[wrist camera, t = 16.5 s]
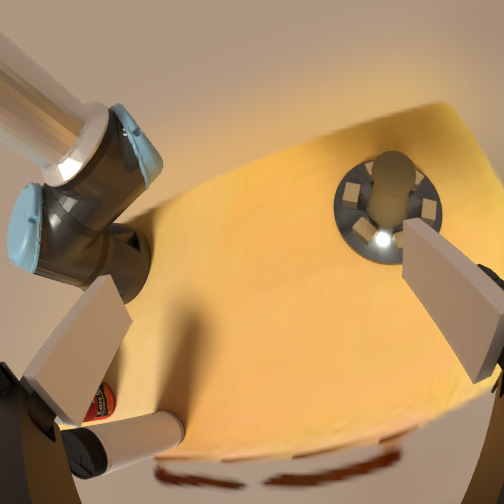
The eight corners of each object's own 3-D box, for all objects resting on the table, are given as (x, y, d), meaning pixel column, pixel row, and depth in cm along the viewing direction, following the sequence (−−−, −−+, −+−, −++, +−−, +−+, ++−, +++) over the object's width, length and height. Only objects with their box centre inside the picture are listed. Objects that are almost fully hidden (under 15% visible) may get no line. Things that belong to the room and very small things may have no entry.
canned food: (121, 416, 42) (74, 424, 32) (94, 420, 43) (50, 425, 33) (109, 376, 45) (62, 376, 35) (84, 383, 46) (40, 382, 36)
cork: (362, 192, 39) (362, 145, 29) (401, 187, 37) (412, 140, 27) (370, 232, 37) (375, 193, 27) (412, 226, 35) (429, 186, 25)
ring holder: (322, 250, 40) (319, 243, 37) (345, 154, 43) (343, 143, 40) (433, 276, 33) (439, 271, 31) (442, 174, 37) (447, 164, 34)
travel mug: (155, 403, 40) (53, 417, 22) (189, 421, 38) (89, 452, 20) (147, 433, 39) (50, 456, 21) (179, 452, 37) (85, 491, 19)
